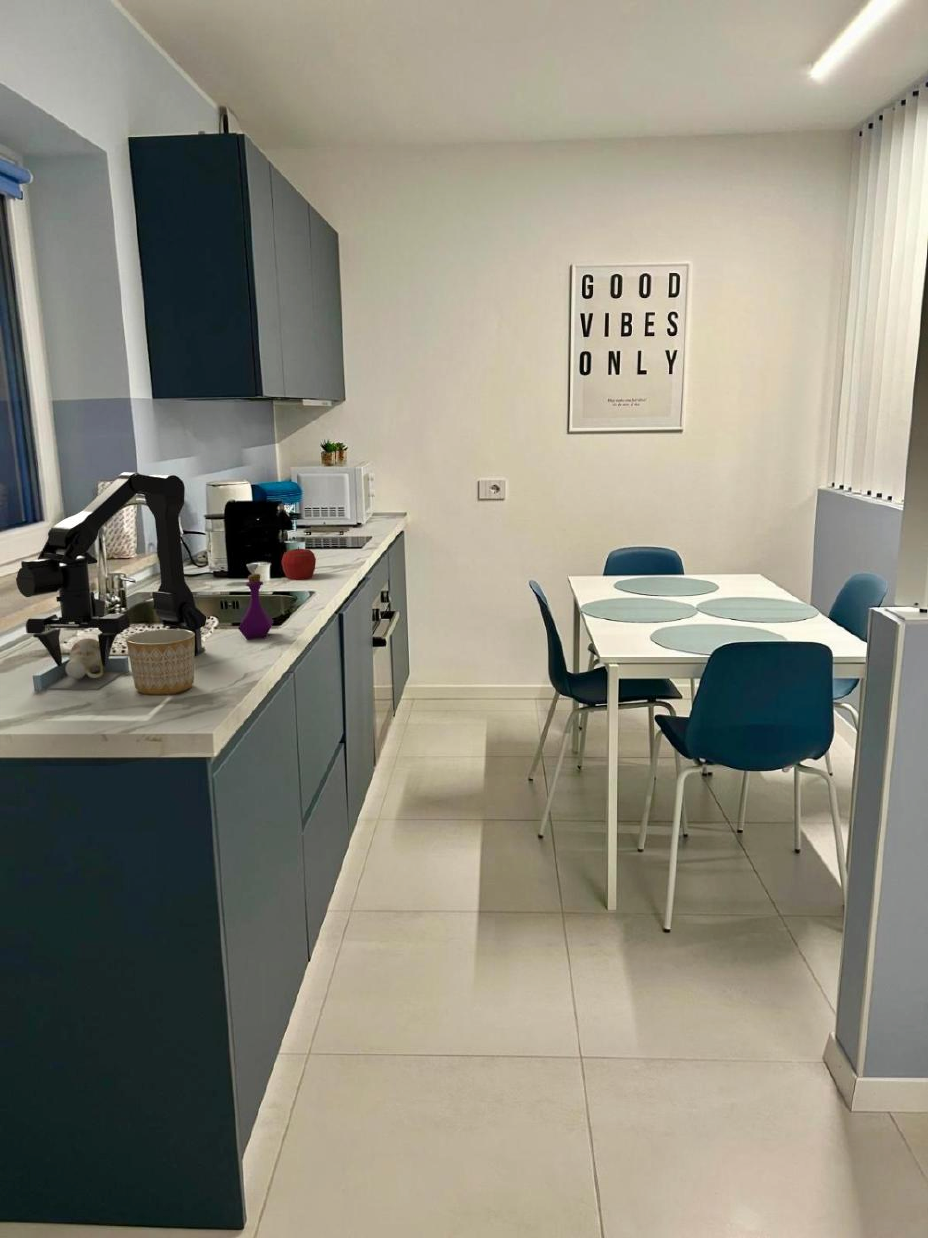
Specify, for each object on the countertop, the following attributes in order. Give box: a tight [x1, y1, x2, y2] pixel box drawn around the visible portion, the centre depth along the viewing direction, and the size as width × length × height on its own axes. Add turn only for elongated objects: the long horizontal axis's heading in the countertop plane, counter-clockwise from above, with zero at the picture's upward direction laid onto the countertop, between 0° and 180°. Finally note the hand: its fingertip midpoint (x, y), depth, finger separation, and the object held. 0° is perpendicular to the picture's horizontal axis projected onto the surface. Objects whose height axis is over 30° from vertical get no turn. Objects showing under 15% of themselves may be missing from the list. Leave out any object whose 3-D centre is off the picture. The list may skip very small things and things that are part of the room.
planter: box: [126, 628, 195, 696], centre depth 182 cm, size 13×13×10 cm
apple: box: [281, 546, 317, 581], centre depth 295 cm, size 11×11×12 cm
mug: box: [65, 638, 104, 679], centre depth 189 cm, size 8×10×10 cm
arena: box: [32, 656, 130, 691], centre depth 189 cm, size 13×14×3 cm
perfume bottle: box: [237, 563, 274, 640], centre depth 221 cm, size 8×8×18 cm
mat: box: [45, 671, 125, 691], centre depth 188 cm, size 11×12×1 cm
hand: (82, 665), depth 187 cm, fingers open, 9 cm apart
